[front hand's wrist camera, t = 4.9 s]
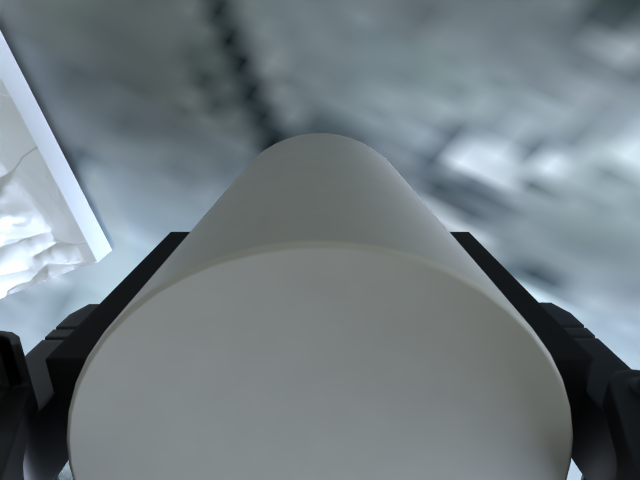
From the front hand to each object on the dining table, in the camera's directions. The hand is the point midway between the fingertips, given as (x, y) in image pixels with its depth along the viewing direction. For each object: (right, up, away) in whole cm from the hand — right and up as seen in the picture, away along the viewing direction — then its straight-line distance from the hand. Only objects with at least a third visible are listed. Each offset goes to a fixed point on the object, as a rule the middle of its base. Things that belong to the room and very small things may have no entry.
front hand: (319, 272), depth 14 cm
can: (0, +2, +4) cm, 4 cm away
